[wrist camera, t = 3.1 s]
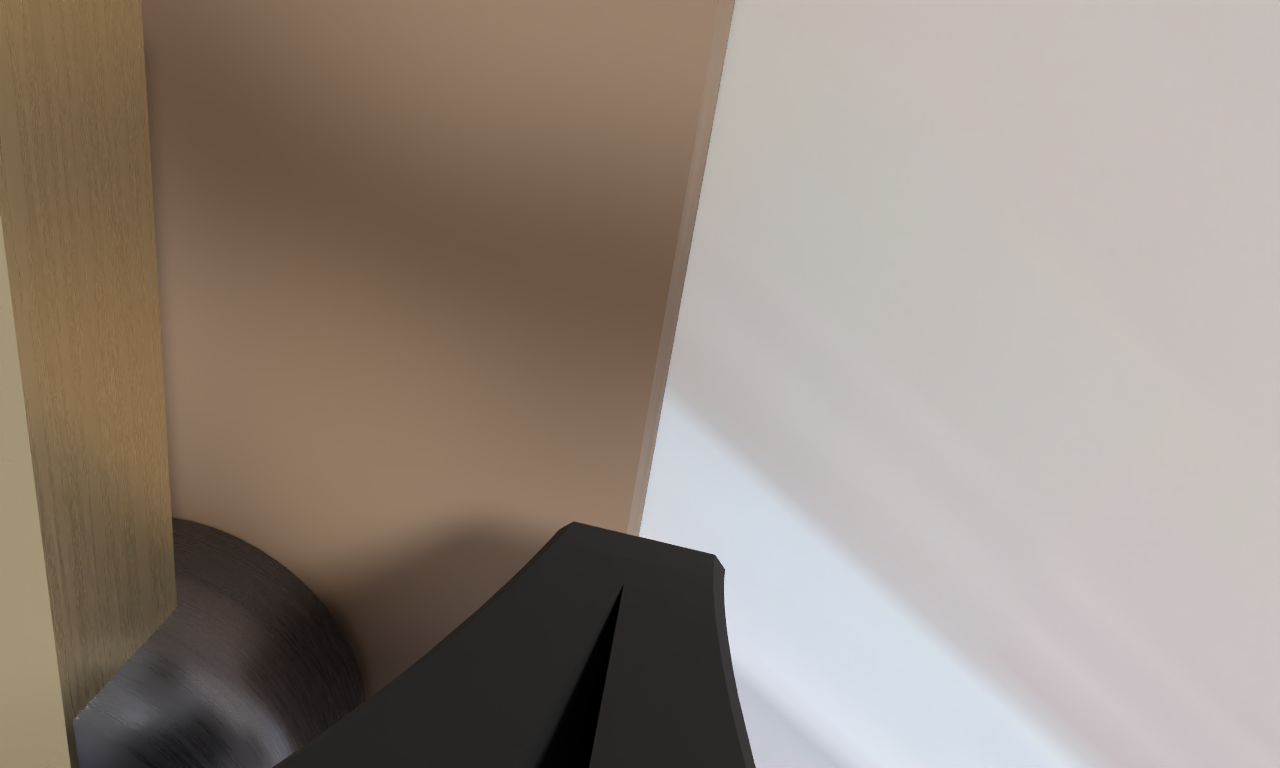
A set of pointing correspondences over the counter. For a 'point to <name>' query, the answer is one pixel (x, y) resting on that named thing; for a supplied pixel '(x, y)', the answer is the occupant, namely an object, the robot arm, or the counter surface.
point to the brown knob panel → (421, 281)
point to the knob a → (118, 455)
